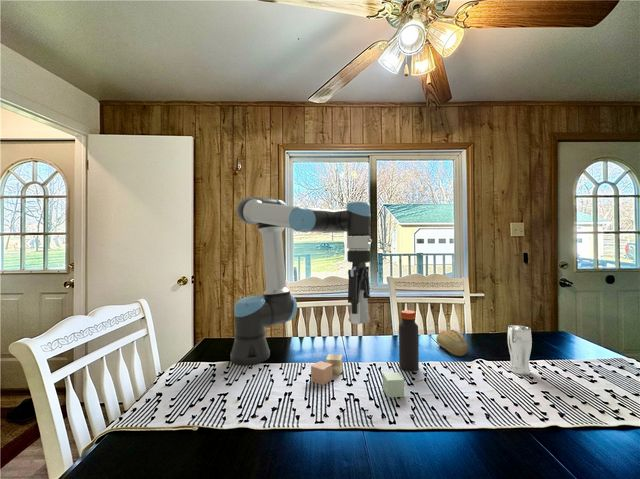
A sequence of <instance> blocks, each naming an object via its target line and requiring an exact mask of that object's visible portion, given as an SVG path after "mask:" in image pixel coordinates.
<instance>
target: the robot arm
mask: <svg viewBox="0 0 640 479" xmlns="http://www.w3.org/2000/svg"><path fill="white" fill-rule="evenodd" d="M236 213H237V217H238V219H239V220H241V222H243V223H245V224H248V225H254V226H255V225H256V226H257V230H258V232H259V233H261V238H262V252H263V263H264V277H265V290H264V291H263V292H262V295H251V296H245V297H242V298H241V299H238V300H237V301H236V302H235V304H234V312H233V314H234V341H233V344H232V348H231V352H230V362H232V364H236V365H239V366H240V365H241V366H251V365H256V364H260V363H264V362H265V361H267V360H268V359H269V358H270V356H271V350H270V348H269V345H268V342H267V338H266V328H269V327H273V326H276V325H279V324H285V323H288V322H289V321H292V320H293V319H294V317H295V316H296V314H297V310H298V302H297V299H296V297H295V296H294V295H293V294H291V290H290V289H289V288H288V287H287V282H286V281H287V279H286V269H285V268H286V267H285V266H286V265H285V258H284V257H285V256H284V243H283V242H284V241H283V232H284V230H285V229H286V228H287V229H292V230H293V231H294V232H300V233H307V232H311V233H313V232H319V233H342V232H343V233H344V232H346V248H347V249H348V250H347V252H346V254H347V256H346V259H347V262H349V263H352V265H351V269H348V270H347V273H348V274H347V275H348V286H347V288H348V289H347V290H348V291H347V303H348V304H349V303H350V313H351V322H350V324H353V325H360V303H359V294H360V290H364V293H363V298H364V303H365V306H366V309H367V312H368V313H369V311H368V310H369V309H368V308H369V306H368V303H369V302H368V299H370V298H371V294H370V292H371V291H370V267H369V266H368V265H367V263H369V262H371V261H372V254H371V253H372V252H371V250H370V249H371V243H372V242H373V239H371V216H372V215H371V204H370V203H369V202H368V201H363V200H362V201H361V200H358V201H355V200H354V201H349V202H348V203H346V208H345V209H324V208H314V207H306V206H305V207H304V206H295V205H287V204H286V203H285V202H284V201H283V200H281V199H278V198H277V199H276V198H270V197H269V198H268V197H260V196H259V197H258V196H247V197H245V198H243V199H241V200H240V201H239V203H238V205H237V207H236Z"/></svg>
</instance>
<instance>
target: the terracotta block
mask: <svg viewBox="0 0 640 479" xmlns="http://www.w3.org/2000/svg"><path fill="white" fill-rule="evenodd" d="M310 371H311V372H310V374H311V375H310V381H311V382H313V383H316V384H318V385H321V386H324V385H326V384H327V383H329V382H330V381H332V380H333V374H332V364H329V363H326V361H323V360H322V361H321V360H319V361H318V362H315V363H313V364H312V365H311V366H310Z"/></svg>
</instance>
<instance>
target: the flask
mask: <svg viewBox="0 0 640 479" xmlns="http://www.w3.org/2000/svg"><path fill="white" fill-rule="evenodd" d="M363 293H364V290H360V294H359V303H360V324H369V323H370V322H371V318H370V314H369V311H368V312H367V309H366V306H365V303H364V298H363ZM348 322H349V323H351V312H350V313H349V317H348ZM360 324H359V325H360Z"/></svg>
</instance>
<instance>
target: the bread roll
mask: <svg viewBox="0 0 640 479" xmlns="http://www.w3.org/2000/svg"><path fill="white" fill-rule="evenodd" d="M436 343H437V344H438V345H439V346H440V347H442V348H443V349H444V350H446V351H448V352H449V353H450V354H451V355H453V356H456V357H463V356H465V355H466V354H467V352H468V349H469V348H468V344H467V340H466V338H465V336H464V335H463V334H462V333H461V332H460V331H457V330H454V329H448V330H442V331H440V332H439V333H438V334H437V336H436Z"/></svg>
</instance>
